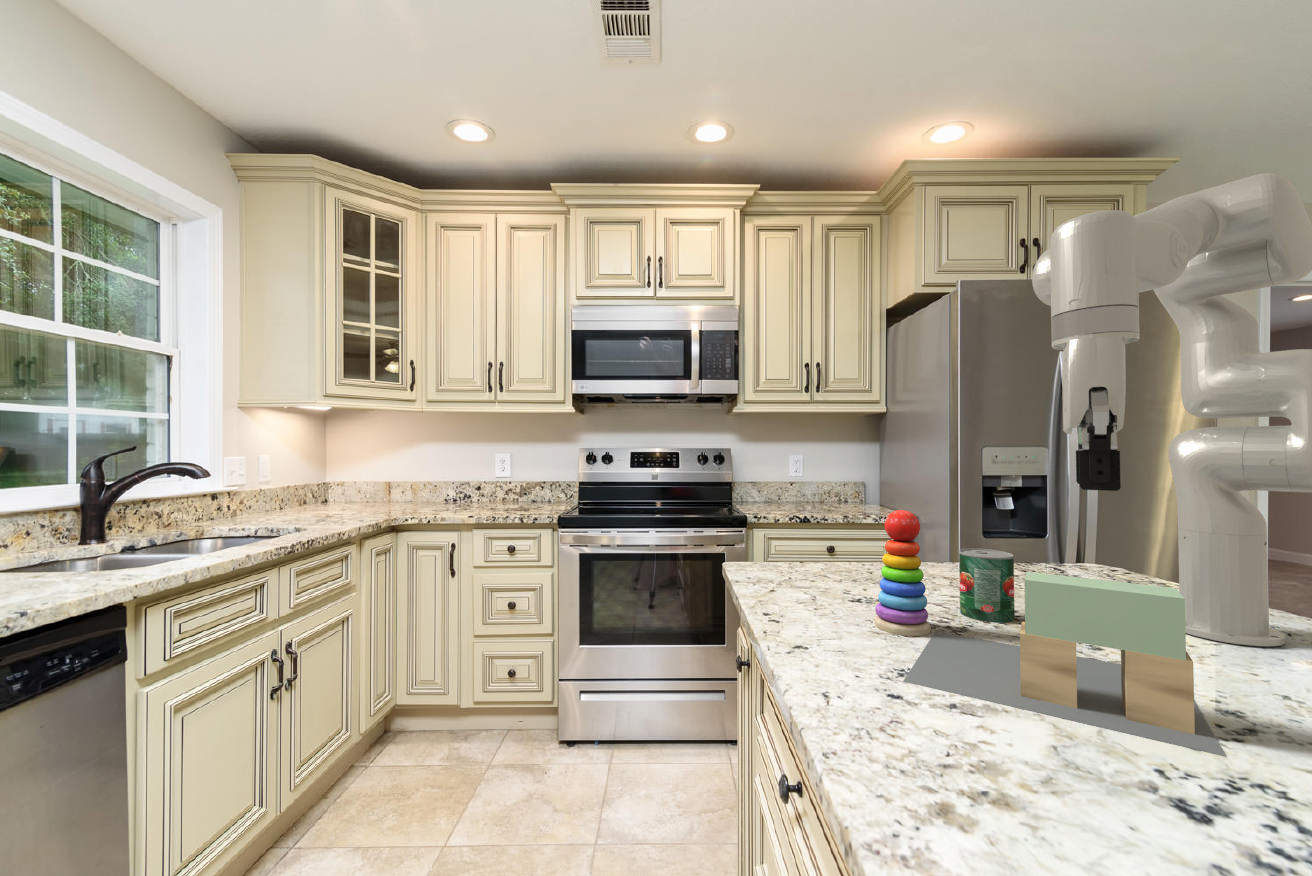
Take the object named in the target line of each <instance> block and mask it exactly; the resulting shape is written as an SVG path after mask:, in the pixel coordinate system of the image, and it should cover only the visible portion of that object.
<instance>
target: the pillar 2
mask: <svg viewBox="0 0 1312 876" xmlns="http://www.w3.org/2000/svg"><path fill="white" fill-rule="evenodd" d="M1120 664H1121V691H1122V704H1123V708H1124V712H1125V715H1126V719H1127V720H1131V721H1135V722H1140V723H1144V724H1149V725H1154V726H1158V727H1163V728H1167V729H1172V730H1176V731H1181V732H1185V733H1190V734H1194V735H1195V722H1194V700H1195V688H1194V687H1195V683H1194V682H1195V681H1194V678H1195V677H1194V661H1193V659H1192V657H1191V656H1190V655H1189V653H1188V652H1187V651H1186V660H1180V659H1174V658H1168V657H1162V656H1156V655H1150V654H1144V653H1138V652H1132V651H1126V650H1120Z"/></svg>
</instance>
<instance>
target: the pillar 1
mask: <svg viewBox="0 0 1312 876" xmlns="http://www.w3.org/2000/svg"><path fill="white" fill-rule="evenodd" d="M1020 625H1021V626H1020V631H1019V646H1020V676H1021V696H1023V697H1027V698H1032V699H1036V700H1041V701H1045V702H1050V703H1054V704H1059V705H1063V706H1068V707H1072V708H1077V663H1076V656H1077V642H1072V641H1066V640H1060V639H1054V638H1048V637H1042V636H1036V635H1030V634H1025V621H1021V624H1020Z"/></svg>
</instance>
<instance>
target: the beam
mask: <svg viewBox="0 0 1312 876" xmlns="http://www.w3.org/2000/svg"><path fill="white" fill-rule="evenodd" d="M1024 622H1025V634H1030V635H1036V636H1042V637H1048V638H1054V639H1060V640H1066V641H1072V642H1076V643H1079V644H1085V645H1089V646H1090V645H1091V646H1097V647H1102V648H1109V649H1115V650H1120V651H1121V650H1126V651H1132V652H1138V653H1144V654H1150V655H1156V656H1162V657H1168V658H1174V659H1180V660H1186V652H1187V647H1186V645H1187V643H1186V642H1187V641H1186V637H1187V636H1186V634H1187V633H1186V632H1185V598H1184V597H1183V596H1182V595H1181V594H1180V593H1179V589H1178V588H1176V587H1171V586H1170V587H1168V586H1157V585H1150V584H1143V583H1141V584H1140V583H1133V582H1123V581H1113V580H1104V579H1096V578H1095V579H1094V578H1086V577H1078V576H1068V575H1060V574H1059V575H1058V574H1052V573H1051V574H1049V573H1043V572H1042V573H1040V572H1032V571H1026V572H1025V575H1024Z"/></svg>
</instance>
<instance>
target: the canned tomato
mask: <svg viewBox="0 0 1312 876" xmlns="http://www.w3.org/2000/svg"><path fill="white" fill-rule="evenodd" d="M958 553H959V555H958V556H959V557H958V563H959V565H958V567H959V575H958V577H959V614H960V615H962V616H963V617H965V618H969V619H972V620H975V621H980V622H986V623H994V624H995V623H997V624H1006V623H1012V622H1014V621H1015V619H1016V618H1015V613H1016V612H1015V611H1016V610H1015V606H1016V605H1015V563H1014V561H1015V560H1014V558H1015V556H1014V554H1012V553H1011V552H1007V551H1002V550H998V549H997V550H996V549H990V548H989V549H987V548H961V549H959V550H958Z"/></svg>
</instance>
